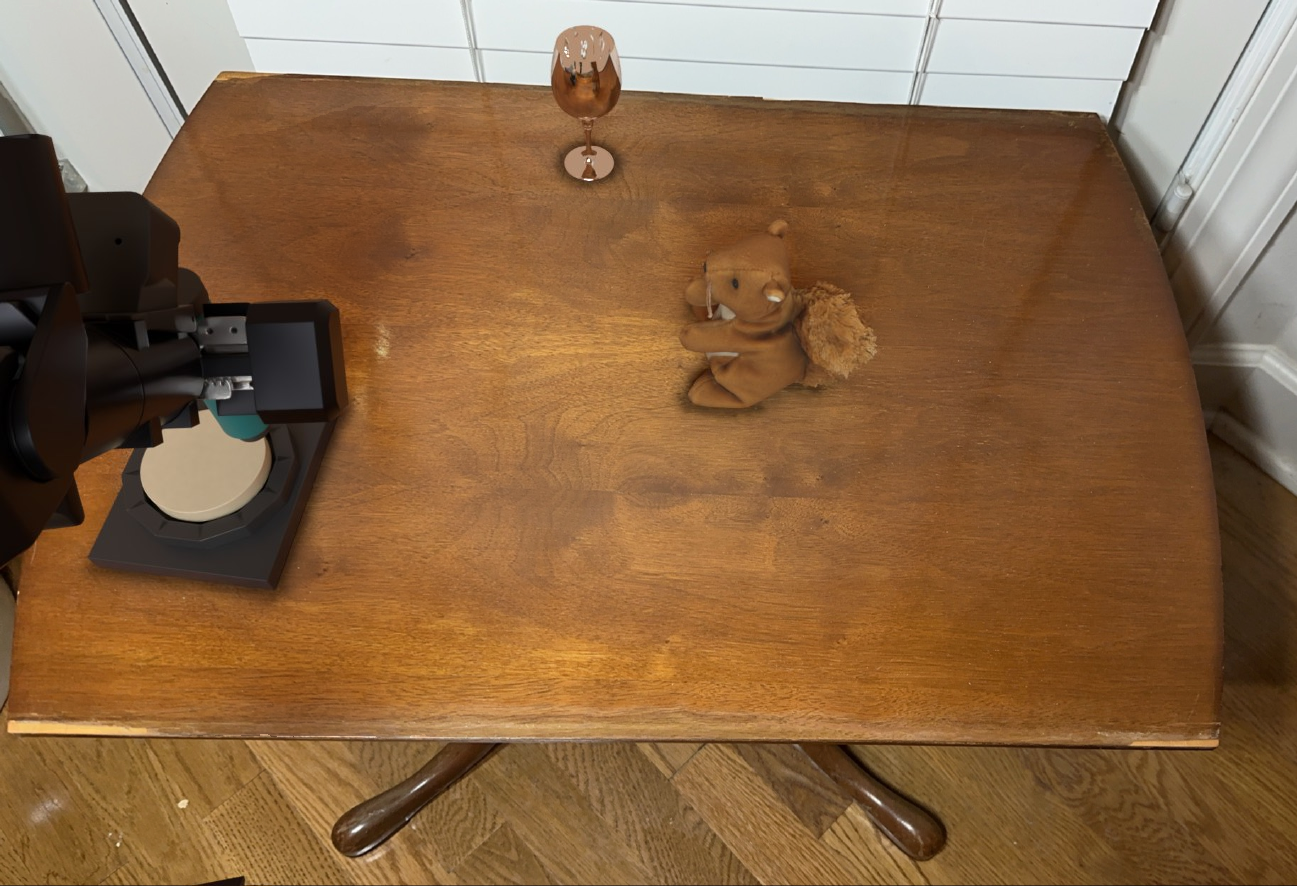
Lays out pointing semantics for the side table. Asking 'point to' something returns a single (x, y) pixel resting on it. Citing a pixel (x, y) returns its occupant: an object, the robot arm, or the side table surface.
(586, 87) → the wineglass
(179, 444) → the pad disc
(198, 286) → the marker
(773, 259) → the stuffed squirrel
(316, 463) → the button base
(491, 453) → the side table surface
